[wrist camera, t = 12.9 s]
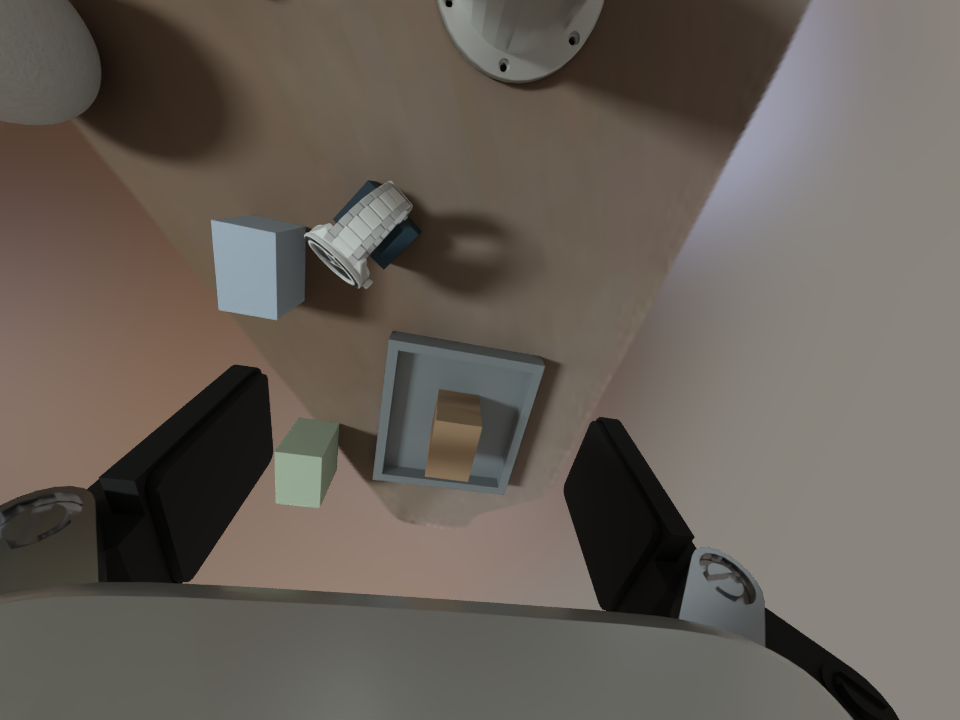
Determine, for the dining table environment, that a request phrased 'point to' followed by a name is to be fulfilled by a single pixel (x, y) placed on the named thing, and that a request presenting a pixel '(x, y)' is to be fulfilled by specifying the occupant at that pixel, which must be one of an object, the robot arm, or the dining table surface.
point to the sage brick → (306, 463)
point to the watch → (365, 233)
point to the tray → (459, 368)
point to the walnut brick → (453, 436)
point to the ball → (45, 62)
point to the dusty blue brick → (259, 265)
